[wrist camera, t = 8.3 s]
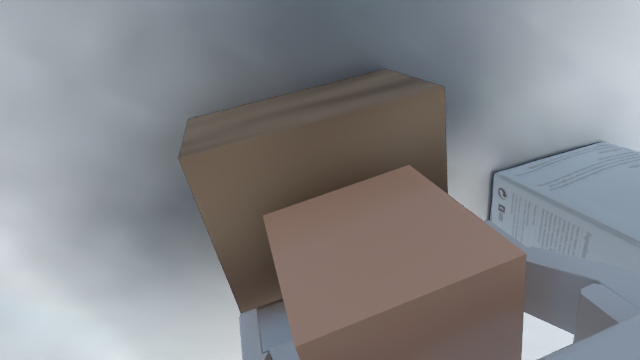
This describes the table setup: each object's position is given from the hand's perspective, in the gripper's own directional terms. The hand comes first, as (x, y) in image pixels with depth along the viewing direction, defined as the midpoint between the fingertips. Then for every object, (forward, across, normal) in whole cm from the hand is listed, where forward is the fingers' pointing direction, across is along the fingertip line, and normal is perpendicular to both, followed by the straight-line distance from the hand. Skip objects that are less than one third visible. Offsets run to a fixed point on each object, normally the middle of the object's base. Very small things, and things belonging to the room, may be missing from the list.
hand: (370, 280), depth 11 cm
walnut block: (+8, 0, 0) cm, 8 cm away
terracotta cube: (+2, 0, 0) cm, 2 cm away
